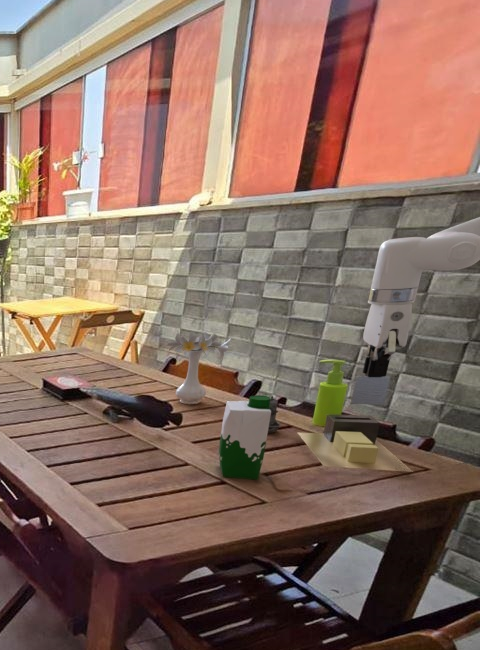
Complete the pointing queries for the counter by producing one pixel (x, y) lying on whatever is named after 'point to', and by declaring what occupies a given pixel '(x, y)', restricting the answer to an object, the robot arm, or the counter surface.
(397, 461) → the cutting board
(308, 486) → the counter surface
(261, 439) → the milk carton
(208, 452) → the counter surface
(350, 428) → the block
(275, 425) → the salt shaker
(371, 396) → the knife
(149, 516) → the counter surface
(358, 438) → the butter
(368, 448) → the butter slice
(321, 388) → the soap dispenser
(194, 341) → the flower vase
